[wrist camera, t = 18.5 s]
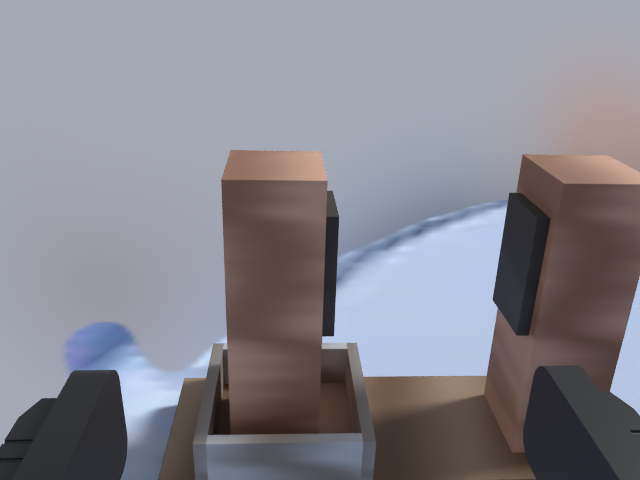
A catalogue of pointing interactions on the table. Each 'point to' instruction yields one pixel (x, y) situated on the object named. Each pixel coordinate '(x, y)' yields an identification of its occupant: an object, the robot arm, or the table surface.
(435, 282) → the table surface
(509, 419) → the gravestone
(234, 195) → the tall copper pillar
